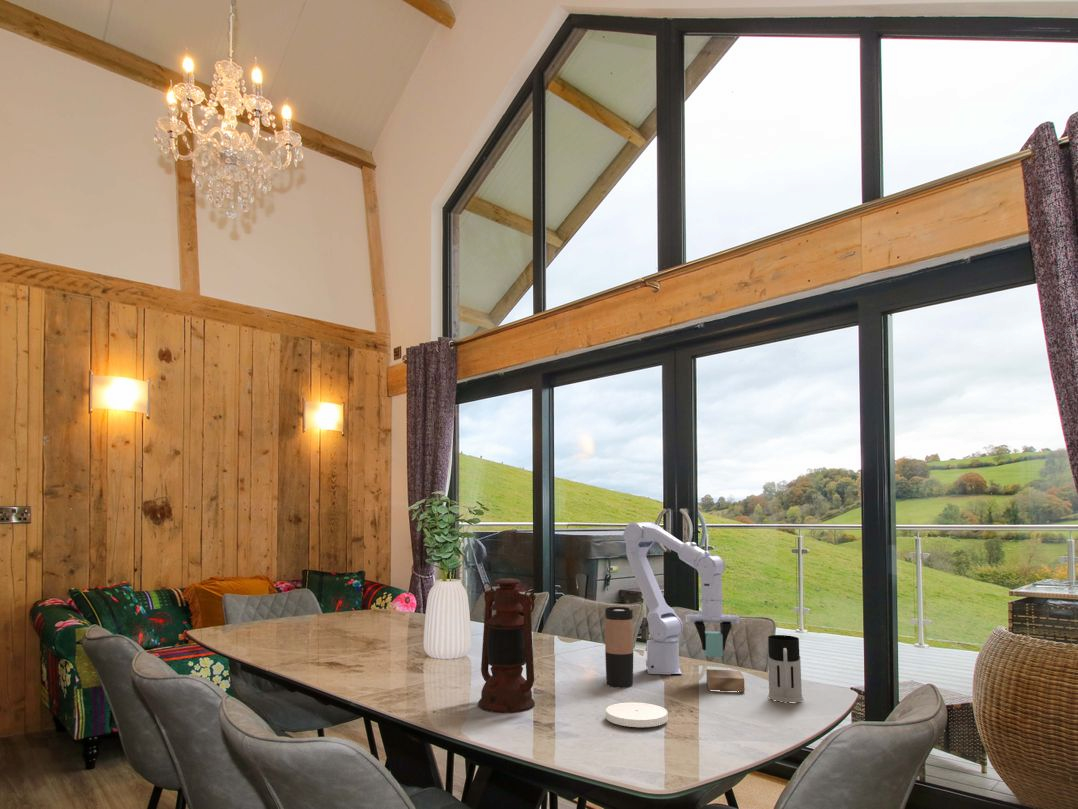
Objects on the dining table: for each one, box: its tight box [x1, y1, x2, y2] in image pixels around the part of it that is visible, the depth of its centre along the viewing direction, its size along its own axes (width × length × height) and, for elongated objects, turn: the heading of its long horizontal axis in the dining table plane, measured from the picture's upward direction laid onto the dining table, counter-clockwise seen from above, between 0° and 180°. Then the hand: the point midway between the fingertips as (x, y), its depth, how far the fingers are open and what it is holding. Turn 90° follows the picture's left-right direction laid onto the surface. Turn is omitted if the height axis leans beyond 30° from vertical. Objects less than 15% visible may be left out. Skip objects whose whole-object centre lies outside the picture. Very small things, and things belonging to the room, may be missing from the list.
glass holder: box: [767, 634, 805, 703], centre depth 186 cm, size 9×14×15 cm, turn 164°
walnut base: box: [705, 668, 746, 692], centre depth 198 cm, size 9×9×4 cm
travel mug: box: [604, 606, 634, 688], centre depth 202 cm, size 8×8×20 cm
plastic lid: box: [605, 701, 669, 728], centre depth 168 cm, size 14×14×2 cm
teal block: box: [703, 630, 724, 658], centre depth 207 cm, size 4×4×6 cm
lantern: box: [477, 577, 537, 714], centre depth 183 cm, size 17×14×30 cm
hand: (713, 649), depth 206 cm, fingers closed on teal block, 4 cm apart
